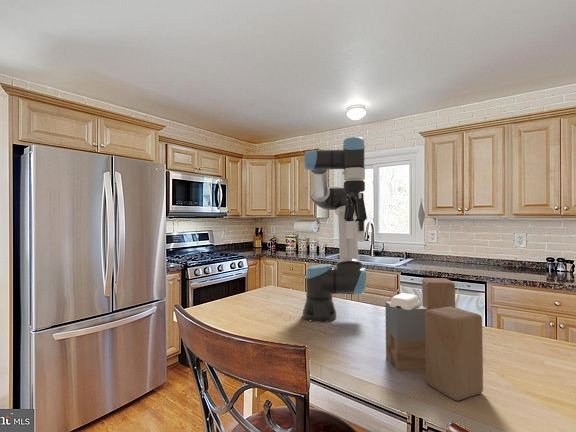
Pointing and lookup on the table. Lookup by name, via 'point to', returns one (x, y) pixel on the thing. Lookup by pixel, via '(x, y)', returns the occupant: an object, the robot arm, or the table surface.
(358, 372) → the table surface
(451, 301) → the wooden block
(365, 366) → the table surface
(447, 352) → the block
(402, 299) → the soap
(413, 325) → the grey cube
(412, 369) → the walnut base cube
